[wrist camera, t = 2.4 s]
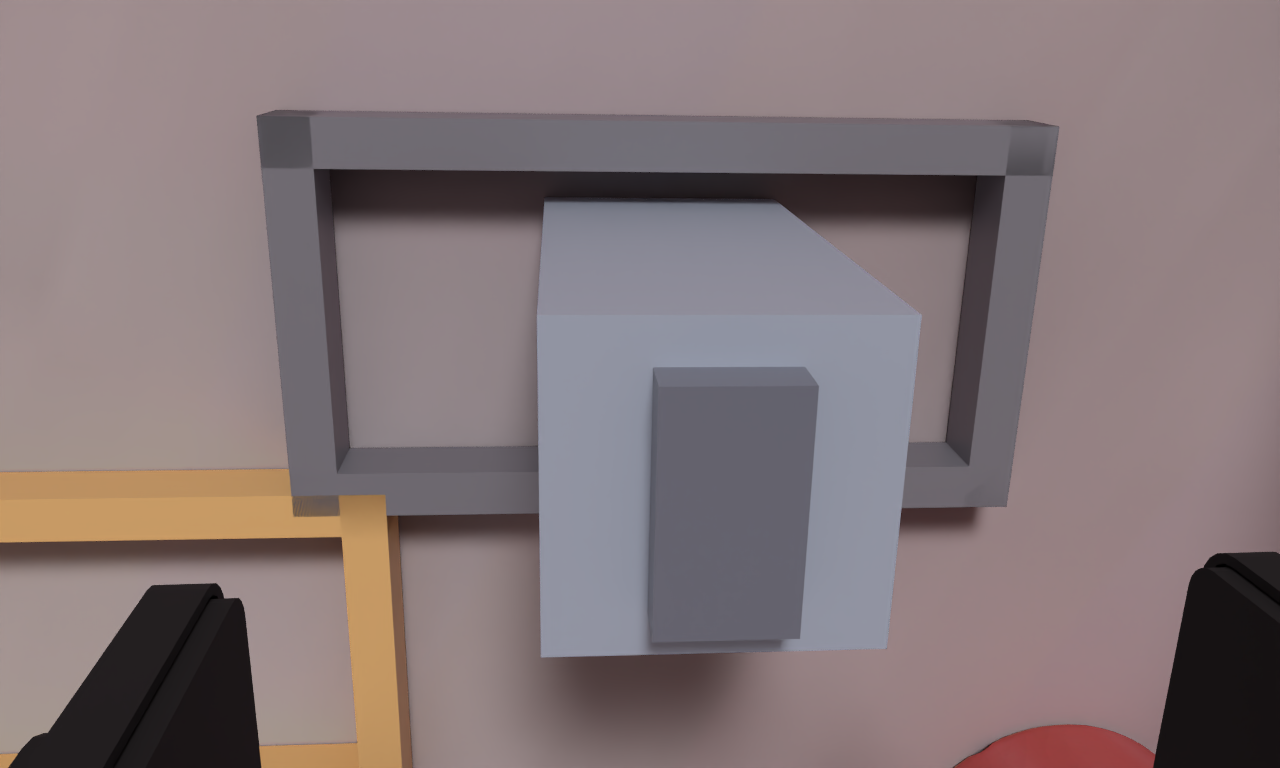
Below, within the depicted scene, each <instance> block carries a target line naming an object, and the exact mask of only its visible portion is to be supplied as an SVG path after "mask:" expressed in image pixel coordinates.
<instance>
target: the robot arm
mask: <svg viewBox="0 0 1280 768" xmlns="http://www.w3.org/2000/svg"><path fill="white" fill-rule="evenodd" d="M8 768H261V758H260V749H259V740H258V730H257V721H256V712H255V703H254V693H253V684H252V675H251V665H250V656H249V647H248V638H247V628H246V619H245V612H244V607H243V604H242V601H241V600H240V599H239V598H229V599H224V596H223V593H222V590H221V588H220V587H219V585H218V584H217V583H213V584H179V585H153V586H151V587H150V588H149V589H148V590H147V591H146V593H145V594H144V595H143V597H142V598H141V600H140V601H139V603H138V604H137V606H136V607H135V608H134V610H133V611H132V613H131V614H130V616H129V617H128V618H127V620H126V621H125V623H124V624H123V626H122V627H121V629H120V630H119V631H118V633H117V634H116V636H115V637H114V639H113V640H112V642H111V643H110V644H109V646H108V647H107V649H106V650H105V652H104V653H103V654H102V656H101V657H100V659H99V660H98V662H97V663H96V665H95V666H94V667H93V669H92V670H91V672H90V673H89V675H88V676H87V677H86V679H85V680H84V682H83V683H82V685H81V686H80V688H79V689H78V690H77V692H76V693H75V695H74V696H73V698H72V699H71V700H70V702H69V703H68V705H67V706H66V708H65V709H64V711H63V712H62V713H61V715H60V716H59V718H58V719H57V721H56V722H55V723H54V725H53V726H52V728H51V729H50V731H49V732H48V733H43V734H40V735H37V736H35V737H33V738H32V739H31V740H30V741H29V742H28V743H27V744H26V745H25V746H24V747H23V748H22V749H21V751H20V752H19V753H18V755H17V756H16V757H15V759H14V760H13V762H12V763H11V764H10V766H9V767H8ZM1153 768H1280V554H1278V553H1276V552H1250V553H1217V554H1215V555H1214V556H1212V557H1210V558H1209V560H1208V561H1207V562H1206V564H1205V565H1204V568H1200V569H1198V570H1197V571H1195V572H1194V574H1193V575H1192V577H1191V579H1190V583H1189V586H1188V591H1187V596H1186V602H1185V607H1184V612H1183V617H1182V622H1181V627H1180V632H1179V637H1178V642H1177V647H1176V653H1175V658H1174V663H1173V668H1172V673H1171V678H1170V683H1169V688H1168V693H1167V698H1166V704H1165V709H1164V714H1163V719H1162V724H1161V729H1160V734H1159V739H1158V744H1157V749H1156V755H1155V760H1154V765H1153Z"/></svg>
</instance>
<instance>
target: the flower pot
mask: <svg viewBox="0 0 1280 768" xmlns="http://www.w3.org/2000/svg"><path fill="white" fill-rule="evenodd" d="M1154 760H1155V754H1153V753H1152V752H1151V751H1150V750H1148V749H1147V748H1145V747H1144V746H1142V745H1141V744H1139V743H1137V742H1135V741H1134V740H1132V739H1130V738H1128V737H1126V736H1123V735H1121V734H1118V733H1116V732H1113V731H1109V730H1106V729H1102V728H1097V727H1092V726H1087V725H1051V726H1042V727H1037V728H1032V729H1028V730H1024V731H1020V732H1017V733H1014V734H1011V735H1009V736H1006V737H1003V738H1001V739H999V740H997V741H995V742H994V743H992V744H991V745H990V746H989V747H988V748H986V749H985V750H983V751H982V752H980V753H978V754H975V755H972V756H969V757H968V758H966V759H965V760H963V761H962V762H961V763H959V764H958V765H957V766H955V767H954V768H1153V765H1154Z"/></svg>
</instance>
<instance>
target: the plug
mask: <svg viewBox="0 0 1280 768" xmlns="http://www.w3.org/2000/svg"><path fill="white" fill-rule="evenodd" d="M921 318H922V315H921V314H920V313H919V312H917V311H916V310H915V309H914V308H912V307H911V306H910V305H908V304H907V303H906V302H905V301H903V300H902V299H901V298H900V297H898V296H897V295H896V294H894V293H893V292H892V291H891V290H889V289H888V288H887V287H885V286H884V285H883V284H882V283H880V282H879V281H878V280H877V279H875V278H874V277H873V276H871V275H870V274H869V273H868V272H866V271H865V270H864V269H862V268H861V267H860V266H859V265H857V264H856V263H855V262H854V261H852V260H851V259H850V258H848V257H847V256H846V255H845V254H843V253H842V252H841V251H840V250H838V249H837V248H836V247H834V246H833V245H832V244H831V243H829V242H828V241H827V240H825V239H824V238H823V237H822V236H820V235H819V234H818V233H817V232H815V231H814V230H813V229H811V228H810V227H809V226H808V225H806V224H805V223H804V222H802V221H801V220H800V219H799V218H797V217H796V216H795V215H794V214H792V213H791V212H790V211H788V210H787V209H786V208H785V207H783V206H782V205H781V204H780V203H778V202H777V201H776V200H774V199H710V198H578V197H545V200H544V215H543V230H542V245H541V260H540V275H539V290H538V305H537V371H538V453H539V536H540V619H541V657H580V656H619V655H659V654H698V653H738V652H777V651H817V650H856V649H887V641H888V632H889V622H890V613H891V603H892V594H893V584H894V575H895V565H896V556H897V546H898V537H899V527H900V518H901V508H902V499H903V489H904V480H905V470H906V460H907V451H908V441H909V432H910V422H911V413H912V403H913V394H914V384H915V375H916V365H917V356H918V346H919V337H920V327H921Z"/></svg>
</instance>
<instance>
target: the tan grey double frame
mask: <svg viewBox="0 0 1280 768" xmlns="http://www.w3.org/2000/svg"><path fill="white" fill-rule="evenodd" d="M257 126H258V137H259V148H260V159H261V170H262V181H263V192H264V203H265V214H266V225H267V235H268V246H269V257H270V268H271V279H272V290H273V301H274V312H275V323H276V333H277V344H278V355H279V366H280V377H281V388H282V399H283V410H284V421H285V431H286V442H287V453H288V464H289V469H252V470H164V471H75V472H0V542H61V541H123V540H185V539H247V538H309V537H342V548H343V561H344V574H345V587H346V600H347V613H348V626H349V639H350V652H351V665H352V678H353V691H354V704H355V717H356V730H357V743H350V744H317V745H285V746H259V749H260V758H261V768H412V751H411V734H410V716H409V699H408V682H407V664H406V647H405V630H404V613H403V595H402V578H401V561H400V543H399V526H398V515H463V514H531V513H539V453H538V446H521V447H420V448H350V446H349V432H348V418H347V405H346V391H345V377H344V363H343V349H342V335H341V321H340V307H339V293H338V279H337V266H336V252H335V238H334V224H333V210H332V196H331V182H330V169H378V170H483V171H587V172H691V173H795V174H899V175H977V183H976V192H975V200H974V209H973V217H972V226H971V234H970V243H969V252H968V260H967V269H966V277H965V286H964V294H963V303H962V311H961V320H960V328H959V337H958V346H957V354H956V363H955V371H954V380H953V388H952V397H951V405H950V414H949V422H948V431H947V440H946V442H926V443H908V451H907V460H906V470H905V480H904V489H903V499H902V508H941V507H1007V500H1008V493H1009V485H1010V478H1011V471H1012V464H1013V457H1014V449H1015V442H1016V435H1017V428H1018V421H1019V413H1020V406H1021V399H1022V392H1023V385H1024V377H1025V370H1026V363H1027V356H1028V349H1029V341H1030V334H1031V327H1032V320H1033V313H1034V305H1035V298H1036V291H1037V284H1038V277H1039V269H1040V262H1041V255H1042V248H1043V241H1044V233H1045V226H1046V219H1047V212H1048V205H1049V197H1050V190H1051V183H1052V176H1053V169H1054V162H1055V154H1056V147H1057V140H1058V133H1059V126H1054V125H1049V124H1044V123H1039V122H1034V121H1029V120H957V119H884V118H811V117H738V116H664V115H591V114H518V113H445V112H372V111H298V110H275V111H271V112H268V113H265V114H261V115H258V116H257ZM17 755H18V754H0V768H8V767H9V766H10V764H11V763H12V762H13V760H14V759H15V757H16V756H17Z"/></svg>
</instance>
